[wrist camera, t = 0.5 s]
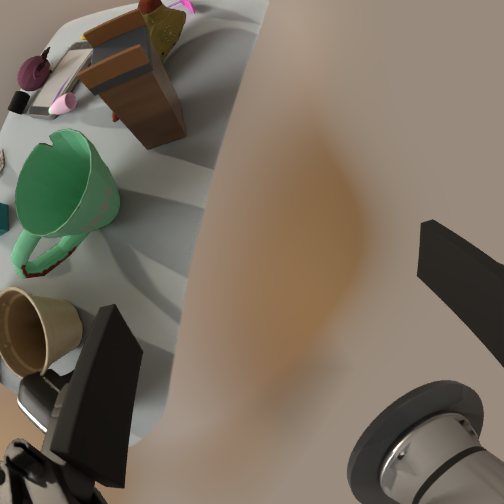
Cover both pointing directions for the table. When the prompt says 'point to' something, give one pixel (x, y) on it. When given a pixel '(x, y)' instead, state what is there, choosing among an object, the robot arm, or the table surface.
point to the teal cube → (3, 218)
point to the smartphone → (61, 79)
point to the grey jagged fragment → (1, 160)
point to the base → (117, 52)
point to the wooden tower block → (148, 106)
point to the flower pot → (35, 331)
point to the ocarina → (161, 27)
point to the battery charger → (40, 396)
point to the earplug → (68, 99)
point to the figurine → (30, 80)
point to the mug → (61, 200)
